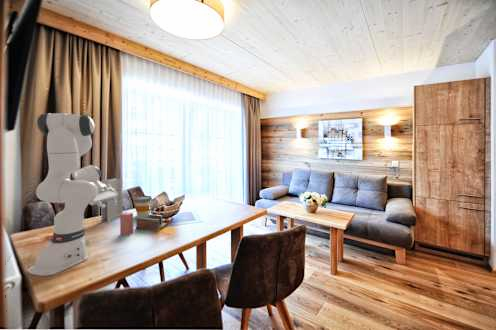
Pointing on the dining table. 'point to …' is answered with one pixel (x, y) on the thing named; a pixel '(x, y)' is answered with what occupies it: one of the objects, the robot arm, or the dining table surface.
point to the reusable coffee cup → (142, 206)
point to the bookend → (156, 217)
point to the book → (126, 223)
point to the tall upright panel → (112, 210)
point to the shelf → (149, 224)
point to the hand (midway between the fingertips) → (110, 205)
